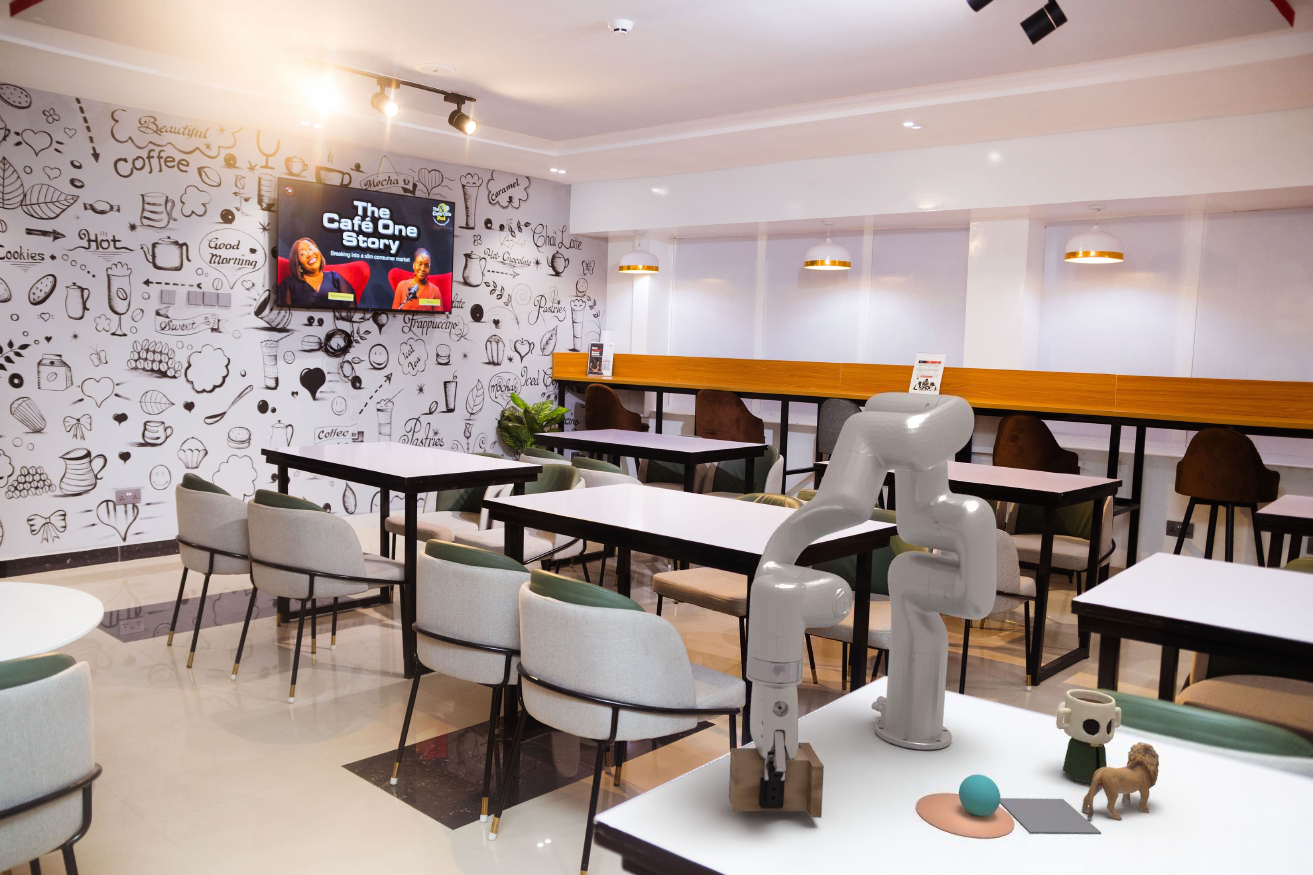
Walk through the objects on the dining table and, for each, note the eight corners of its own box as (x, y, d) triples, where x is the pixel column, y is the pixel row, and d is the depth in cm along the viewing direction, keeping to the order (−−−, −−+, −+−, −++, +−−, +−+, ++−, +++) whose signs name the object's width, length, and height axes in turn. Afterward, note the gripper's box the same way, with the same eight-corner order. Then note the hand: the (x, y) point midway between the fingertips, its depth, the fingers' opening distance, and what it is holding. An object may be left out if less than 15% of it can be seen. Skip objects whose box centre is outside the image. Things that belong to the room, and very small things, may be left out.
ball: (1004, 778, 130) (994, 815, 130) (965, 764, 132) (955, 800, 132) (1005, 789, 125) (994, 828, 125) (963, 774, 127) (953, 812, 127)
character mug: (1066, 789, 138) (1073, 705, 138) (1039, 769, 145) (1045, 689, 145) (1131, 787, 140) (1138, 703, 140) (1100, 767, 147) (1106, 688, 147)
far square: (1030, 833, 124) (1030, 831, 124) (996, 799, 134) (996, 798, 134) (1101, 833, 125) (1101, 832, 125) (1062, 800, 135) (1062, 798, 135)
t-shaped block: (735, 817, 122) (738, 766, 121) (726, 790, 130) (728, 742, 129) (821, 817, 123) (823, 766, 122) (806, 790, 131) (808, 742, 130)
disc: (896, 804, 131) (896, 803, 131) (959, 787, 137) (959, 786, 137) (970, 846, 120) (970, 845, 120) (1034, 825, 126) (1034, 824, 126)
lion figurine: (1129, 793, 138) (1134, 734, 138) (1165, 807, 134) (1170, 747, 134) (1071, 814, 130) (1076, 752, 130) (1107, 830, 126) (1112, 766, 125)
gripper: (817, 689, 117) (809, 829, 118) (788, 650, 134) (781, 773, 135) (759, 688, 116) (751, 828, 117) (736, 649, 133) (730, 772, 134)
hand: (767, 797), depth 126 cm, fingers closed on t-shaped block, 4 cm apart
